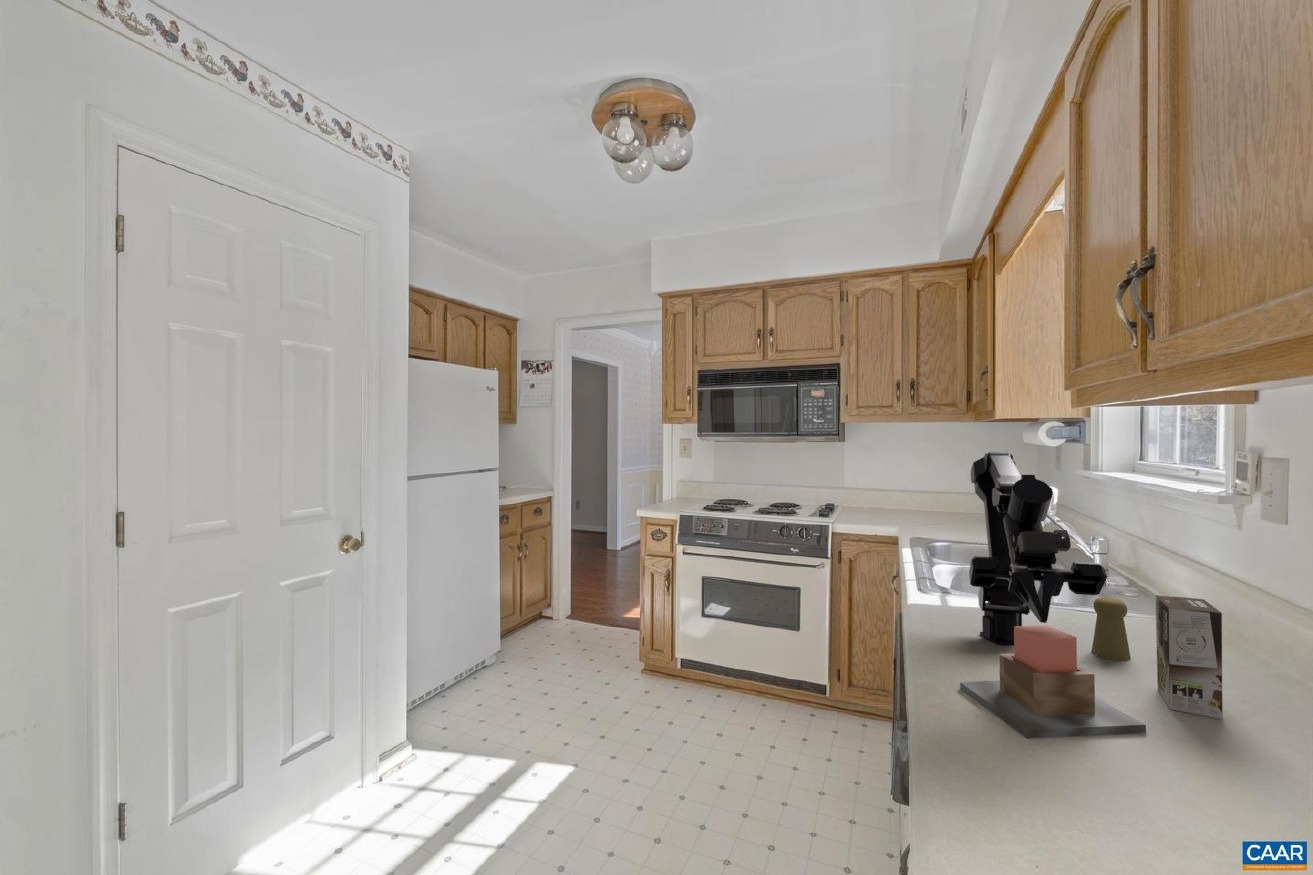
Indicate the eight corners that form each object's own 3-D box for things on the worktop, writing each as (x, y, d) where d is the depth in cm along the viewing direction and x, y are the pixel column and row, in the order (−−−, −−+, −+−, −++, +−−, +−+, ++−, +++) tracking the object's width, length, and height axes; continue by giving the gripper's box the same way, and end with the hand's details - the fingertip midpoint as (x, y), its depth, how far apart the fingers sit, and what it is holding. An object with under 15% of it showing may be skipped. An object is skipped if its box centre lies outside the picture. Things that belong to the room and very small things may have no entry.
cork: (1095, 657, 110) (1094, 600, 110) (1088, 647, 115) (1087, 593, 115) (1134, 662, 107) (1134, 604, 107) (1126, 652, 112) (1125, 596, 113)
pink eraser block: (1048, 661, 93) (1048, 625, 93) (1077, 676, 87) (1076, 637, 87) (1014, 663, 92) (1014, 626, 92) (1040, 678, 86) (1040, 638, 86)
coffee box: (1225, 720, 85) (1223, 613, 85) (1168, 709, 89) (1167, 606, 89) (1207, 696, 93) (1206, 598, 93) (1155, 687, 97) (1154, 593, 97)
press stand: (1060, 685, 98) (1060, 643, 98) (1146, 732, 82) (1145, 683, 82) (960, 689, 97) (959, 646, 97) (1026, 738, 81) (1026, 687, 81)
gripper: (970, 509, 98) (982, 589, 88) (1101, 513, 91) (1131, 600, 81) (964, 547, 105) (974, 624, 95) (1085, 553, 99) (1111, 637, 88)
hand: (1043, 621), depth 90 cm, fingers closed
